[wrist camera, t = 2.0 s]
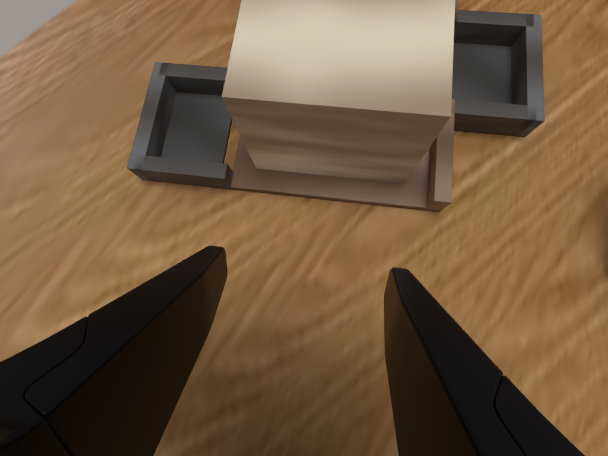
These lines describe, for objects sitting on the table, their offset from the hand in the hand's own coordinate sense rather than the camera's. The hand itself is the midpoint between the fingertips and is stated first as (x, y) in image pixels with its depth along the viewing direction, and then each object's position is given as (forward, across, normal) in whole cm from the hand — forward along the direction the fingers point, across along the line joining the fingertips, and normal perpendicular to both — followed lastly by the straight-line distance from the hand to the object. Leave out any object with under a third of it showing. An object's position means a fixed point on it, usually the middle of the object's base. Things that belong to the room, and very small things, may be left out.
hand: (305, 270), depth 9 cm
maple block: (+19, 0, -2) cm, 19 cm away
